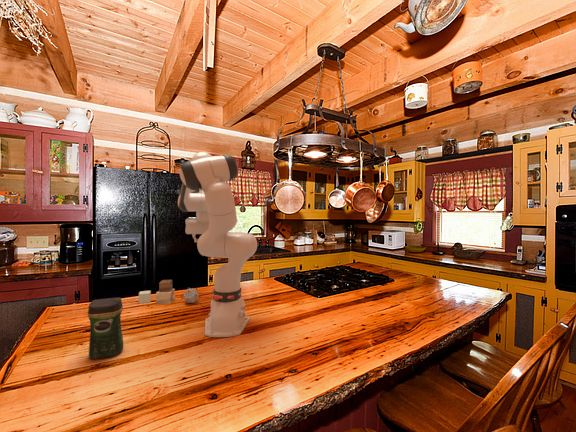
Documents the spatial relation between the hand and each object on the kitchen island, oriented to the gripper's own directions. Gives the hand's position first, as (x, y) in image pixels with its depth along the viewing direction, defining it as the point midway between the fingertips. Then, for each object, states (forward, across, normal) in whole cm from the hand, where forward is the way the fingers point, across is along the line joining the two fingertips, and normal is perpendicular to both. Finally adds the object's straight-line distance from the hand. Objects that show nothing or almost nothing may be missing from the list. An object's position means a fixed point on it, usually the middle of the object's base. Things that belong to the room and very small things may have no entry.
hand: (204, 242), depth 149 cm
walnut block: (+25, -19, -6) cm, 32 cm away
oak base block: (+31, -19, -6) cm, 37 cm away
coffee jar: (+31, -20, -57) cm, 68 cm away
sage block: (+31, -30, -5) cm, 43 cm away
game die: (+31, -5, -9) cm, 33 cm away
